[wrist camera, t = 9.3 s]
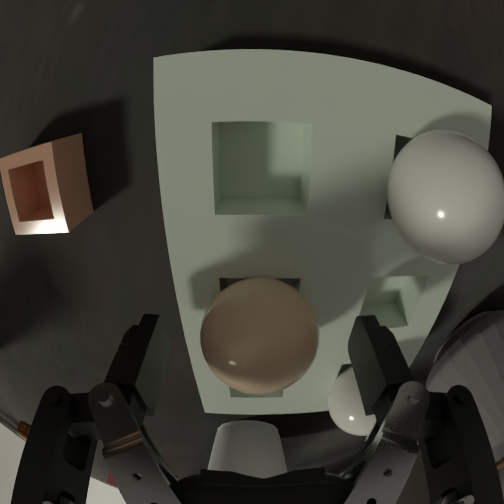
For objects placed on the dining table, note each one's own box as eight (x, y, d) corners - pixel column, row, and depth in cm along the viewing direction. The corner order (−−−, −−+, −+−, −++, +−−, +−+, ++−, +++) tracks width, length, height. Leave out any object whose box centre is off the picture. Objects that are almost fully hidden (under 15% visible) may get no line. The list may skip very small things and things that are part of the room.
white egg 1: (330, 348, 15) (347, 420, 11) (401, 341, 15) (428, 402, 11) (316, 391, 17) (325, 451, 13) (378, 384, 17) (394, 438, 13)
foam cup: (216, 446, 27) (210, 538, 16) (189, 414, 23) (173, 536, 11) (295, 441, 26) (302, 538, 15) (289, 409, 22) (299, 541, 10)
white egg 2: (373, 112, 9) (450, 125, 5) (462, 134, 9) (540, 163, 5) (359, 226, 11) (410, 297, 7) (443, 230, 11) (502, 287, 7)
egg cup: (28, 147, 11) (-2, 159, 8) (81, 132, 11) (51, 141, 8) (41, 215, 13) (16, 234, 10) (93, 211, 13) (68, 232, 10)
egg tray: (173, 66, 9) (153, 57, 7) (460, 101, 9) (491, 105, 7) (208, 385, 20) (205, 412, 18) (378, 378, 20) (386, 401, 17)
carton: (20, 418, 37) (15, 431, 33) (77, 450, 41) (72, 464, 37) (27, 428, 41) (22, 440, 37) (78, 456, 44) (75, 469, 41)
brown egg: (204, 253, 12) (180, 338, 8) (317, 255, 12) (345, 341, 8) (211, 331, 14) (199, 410, 10) (302, 333, 14) (314, 412, 10)
